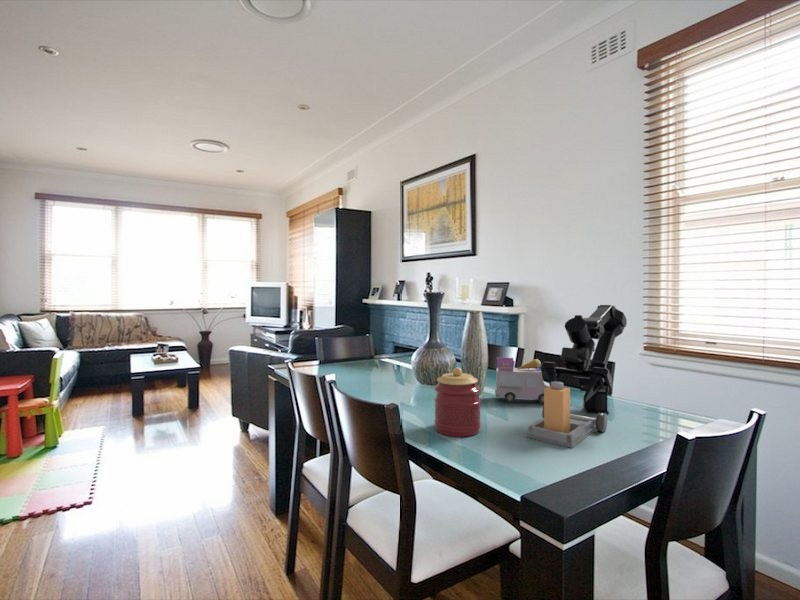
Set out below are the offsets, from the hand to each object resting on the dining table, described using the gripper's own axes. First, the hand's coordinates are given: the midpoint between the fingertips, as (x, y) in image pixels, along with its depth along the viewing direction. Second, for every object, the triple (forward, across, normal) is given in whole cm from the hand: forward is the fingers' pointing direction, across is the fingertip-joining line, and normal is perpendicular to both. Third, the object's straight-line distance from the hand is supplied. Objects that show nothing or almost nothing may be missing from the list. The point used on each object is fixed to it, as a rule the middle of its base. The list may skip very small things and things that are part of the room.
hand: (567, 398), depth 119 cm
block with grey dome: (+11, 0, 0) cm, 11 cm away
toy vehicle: (-8, -23, +22) cm, 33 cm away
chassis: (+8, 0, +5) cm, 9 cm away
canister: (+20, -24, -8) cm, 32 cm away
